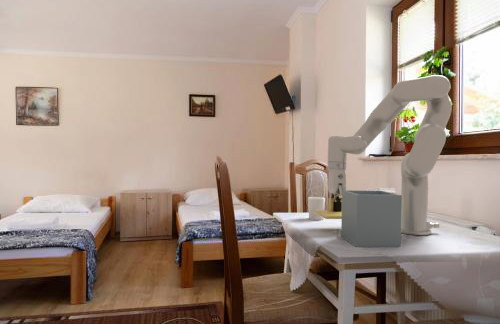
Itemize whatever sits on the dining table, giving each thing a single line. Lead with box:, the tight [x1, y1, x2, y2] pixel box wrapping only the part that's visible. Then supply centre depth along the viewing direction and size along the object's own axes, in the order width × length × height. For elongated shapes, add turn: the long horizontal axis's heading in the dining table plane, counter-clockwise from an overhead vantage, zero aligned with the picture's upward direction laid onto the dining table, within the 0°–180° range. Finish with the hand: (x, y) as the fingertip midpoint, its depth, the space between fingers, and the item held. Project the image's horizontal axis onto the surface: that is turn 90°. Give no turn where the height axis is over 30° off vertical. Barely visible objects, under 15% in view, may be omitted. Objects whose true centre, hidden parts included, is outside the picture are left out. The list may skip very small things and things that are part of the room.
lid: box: [315, 197, 342, 220], centre depth 149 cm, size 16×16×6 cm
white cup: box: [307, 196, 326, 221], centre depth 175 cm, size 8×8×10 cm
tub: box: [340, 189, 402, 248], centre depth 131 cm, size 15×15×17 cm
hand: (335, 210), depth 155 cm, fingers closed on lid, 4 cm apart
